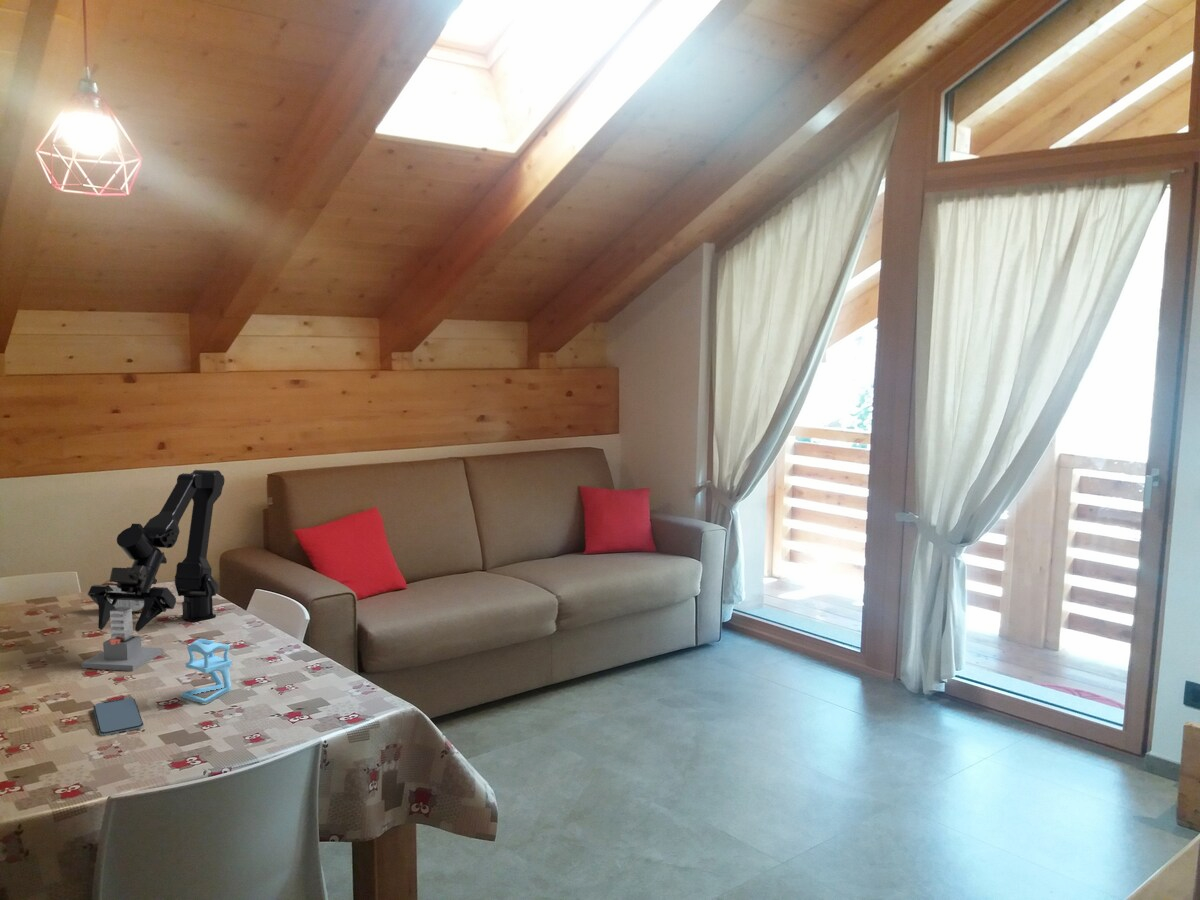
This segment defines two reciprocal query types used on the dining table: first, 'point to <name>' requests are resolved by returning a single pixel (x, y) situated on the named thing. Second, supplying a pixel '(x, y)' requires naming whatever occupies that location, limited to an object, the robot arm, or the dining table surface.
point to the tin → (135, 605)
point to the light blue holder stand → (209, 668)
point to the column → (121, 624)
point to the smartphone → (117, 716)
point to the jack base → (122, 655)
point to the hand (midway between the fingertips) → (118, 629)
